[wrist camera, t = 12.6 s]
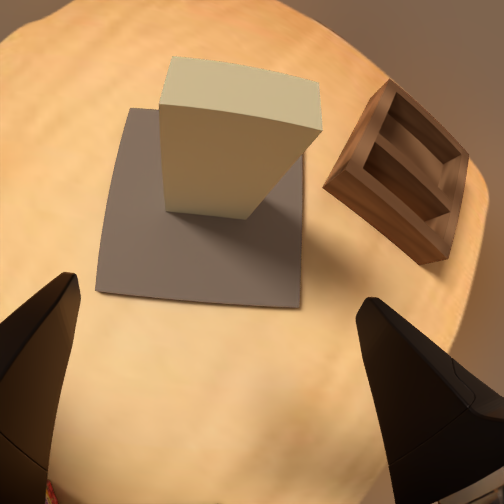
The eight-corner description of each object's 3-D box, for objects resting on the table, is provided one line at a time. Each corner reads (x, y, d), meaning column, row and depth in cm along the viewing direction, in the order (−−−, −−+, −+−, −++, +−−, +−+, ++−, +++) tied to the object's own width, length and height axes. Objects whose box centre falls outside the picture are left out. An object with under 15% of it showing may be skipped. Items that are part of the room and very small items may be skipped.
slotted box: (419, 265, 27) (448, 258, 23) (322, 187, 26) (345, 169, 22) (446, 166, 31) (469, 154, 27) (370, 98, 30) (389, 78, 26)
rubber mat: (296, 307, 24) (299, 307, 23) (96, 291, 20) (94, 290, 20) (299, 134, 26) (301, 132, 26) (130, 111, 23) (130, 107, 23)
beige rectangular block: (246, 219, 23) (322, 130, 11) (165, 211, 22) (158, 103, 9) (247, 188, 24) (318, 82, 11) (169, 179, 22) (172, 56, 10)
